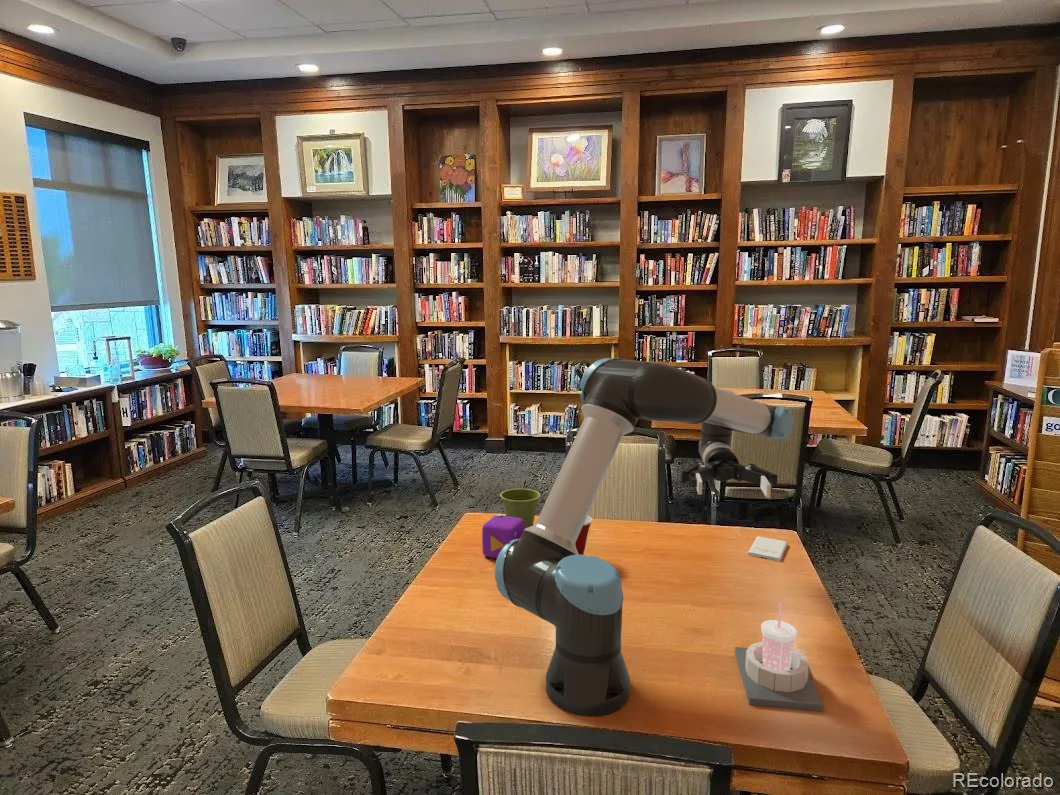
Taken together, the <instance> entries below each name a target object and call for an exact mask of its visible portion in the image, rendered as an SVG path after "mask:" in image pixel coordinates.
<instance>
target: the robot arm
mask: <svg viewBox="0 0 1060 795" xmlns="http://www.w3.org/2000/svg"><path fill="white" fill-rule="evenodd" d="M579 383H580V384H579V389H580V392H579V398H580V401H581V402H582V405H581V407H580V410H581V412H582V415H583V420H582V423H581V425H580V427H579V428H578V431H577V433H576V435H575V437H574V440H573V441H572V444H571V446H570V449H569V450H568V453H567V455H566V457H565V459H564V461H563V463H562V465H561V468H560V470H559V472H558V474H557V476H556V478H555V481H554V483H553V485H552V487H551V489H550V492H549V493H548V496H547V498H546V501H544V502H545V503H544V504H543V507H542V509H541V511H540V512H539V516H538V517H537V519H536V521H535V524H534V523H533V526H531V527H528V528H525V529H524V531H523V533H522V536H521V538H520V539H515V540H512V541H510V542H509V544H506V545H505V546H504V547H503V548H502V550H501V551H500V553H499V555H498V557H497V558H496V560H495V564H494V579H495V580H494V581H495V583H496V588H497V590H498V591H499V593H500V594H501V596H502V597H504V598H505V599H507V601H510V602H511V603H512V605H514V606H516V607H519V608H521V609H524V610H525V611H527V612H529V613H531V614H533V615H534V616H537V617H539V618H540V619H541V620H544V621H545V622H548V623H550V624H552V625H553V626H554V628H555V646H554V647H555V648H554V650H553V653H552V656H551V660H550V661H549V662H550V663H549V664H548V667H547V670H546V674H545V692H546V695H547V697H548V699H549V700H550V701H551V702H552V703H553V704H554V705H555V706H557V707H558V708H559V709H560V710H562V711H563V710H564V711H565V712H568V713H570V714H574V715H577V716H584V717H585V716H586V717H598V716H605V715H609V714H611V713H614V712H616V711H619V710H620V709H621V708H622V707H623V706H625V705H626V703H627V702H628V701H629V698H630V695H631V679H630V674H629V672H628V668H627V665H626V661H625V659H624V655H623V653H622V622H623V604H624V594H623V593H624V592H623V582H622V578H621V575H620V573H619V571H618V570H617V568H616V567H615V566H614V565H612V564H611V563H610V562H608V560H607V561H606V560H605V559H602V558H600V557H597V556H594V555H590V556H586V555H585V554H584V555H579V554H578V552H577V549H576V546H575V542H576V540H577V538H578V536H579V533H580V531H581V529H582V527H583V524H584V522H585V520H586V517H587V515H588V516H589V513H590V510H591V508H592V506H593V503H594V501H595V499H596V496H597V495H598V493H599V490H600V487H601V486H602V484H603V481H604V479H605V477H606V474H607V472H608V470H609V467H610V466H611V463H612V461H613V458H614V456H615V454H616V451H617V449H618V447H619V445H620V442H621V440H622V438H623V436H625V435H628V434H630V433H632V432H634V429H635V427H636V425H637V422H638V420H645V421H651V422H652V421H653V422H667V423H669V422H671V423H684V424H690V425H700V424H701V432H700V440H699V443H698V453H699V456H700V458H701V459H702V463H703V464H702V463H700V462H699V461H697V460H695V461H693V463H692V464H691V465H689V466H687V467H686V468H684V469H683V470H681V472H680V473H681V474H680V475H681V477H680V482H681V483H682V484H685V483H688V482H689V488H696V491H697V495H703V482H704V481H705V482H706V481H707V480H710V481H713V480H714V481H718V482H727V481H730V480H735V481H738V482H742V481H744V482H747V483H751V484H754V485H757V486H760V487H759V488H760V489H761V491H762V493H763V495H764V497H765V498H767V499H771V494H772V493H771V492H772V491H773V488H777V487H778V479H779V478H778V477H779V475H778V474H775V473H774V472H771V471H768V470H766V469H764V468H762V467H758V466H757V465H756V464H755V463H749V465H748V466H745V465H744V464H743V465H742V464H740V462H739V460H738V457H737V455H736V454H735V452H734V451H733V449H732V439H733V438H732V436H733V432H737V433H742V434H748V435H753V436H759V437H764V438H770V439H774V440H775V439H777V440H785V439H786V438H788V437H789V436H790V434H791V433H792V430H793V428H794V414H793V412H792V410H791V409H790V408H787V407H783V406H780V405H771V404H770V405H769V404H767V403H763V402H760V401H758V400H754V399H753V398H748V397H745V396H743V395H739V394H736V393H734V392H733V391H732V390H728V389H721V388H719V387H715V386H714V384H713V383H712V382H711V381H710V380H708V379H706V378H704V377H701V376H699V375H697V374H694V373H691V372H689V371H687V370H683V369H680V368H678V367H675V366H673V365H669V364H667V363H661V362H656V361H655V362H651V361H642V360H632V359H625V358H623V357H612V358H610V357H607V358H601V359H598V360H596V361H594V362H593V363H591V365H590V366H588V368H587V369H586V370H585V372H584V374H582V378H581V379H580V382H579Z"/></svg>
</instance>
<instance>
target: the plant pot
mask: <svg viewBox="0 0 1060 795" xmlns="http://www.w3.org/2000/svg"><path fill="white" fill-rule="evenodd" d="M499 496H500V498H501V499H502V500H501V501H502V504H503V507H504V513H505V516H509V517H516V518H521V519H523V520H524V523H525V528H528V527H531V526H533V525H534V521H535V517H536V510H537V505H538V502H539V498H540V497H541V493H540V492H539V491H537V490H534V489H529V488H511V489H506V490H504V491H502V492H500V494H499Z"/></svg>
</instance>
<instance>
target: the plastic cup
mask: <svg viewBox="0 0 1060 795" xmlns="http://www.w3.org/2000/svg"><path fill="white" fill-rule="evenodd" d="M593 521H594V520H593V518H592V517H591V516H589V514H588V515H587V517H586V520H585V522H584V524H583V527H582V529H581V531H580V533H579V536H578V538H577V540H576V542H575V546H576V549H577V552H578V554H579V555H585V549H586V544H587V540H588V535H589V530H590V527H591V524H592V523H593Z"/></svg>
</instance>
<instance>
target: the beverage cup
mask: <svg viewBox="0 0 1060 795" xmlns="http://www.w3.org/2000/svg"><path fill="white" fill-rule="evenodd" d="M782 607H783V603H782V602H779V603H778V612H777V613H778V615H777V619H768V620H765V621H763V622H762V623H761V625H760V632H761V634H762V635H761V636H762V638H761V640H762V641H761V642H762V647H763V665H764V666H767V667H769V668H772V669H775V670H784V671H790V667H791V660H792V653H793V648H795V646H794V645H795V640H796V638H797V635H798V632H797V629H796V628H795V626H793V625H791V624H790V623H788V622H786V621H782V619H781V618H782V611H783V610H782Z"/></svg>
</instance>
